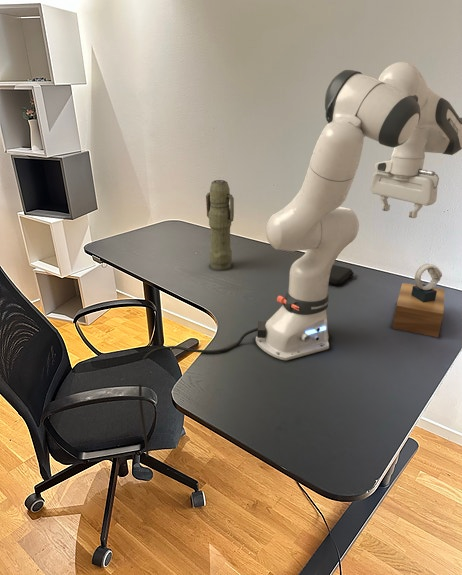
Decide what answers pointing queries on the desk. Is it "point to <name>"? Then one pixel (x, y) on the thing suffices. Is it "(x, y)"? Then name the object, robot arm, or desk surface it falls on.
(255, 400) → the desk surface
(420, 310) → the wooden display stand
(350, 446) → the desk surface
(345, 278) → the carrying case
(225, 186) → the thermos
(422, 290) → the watch
